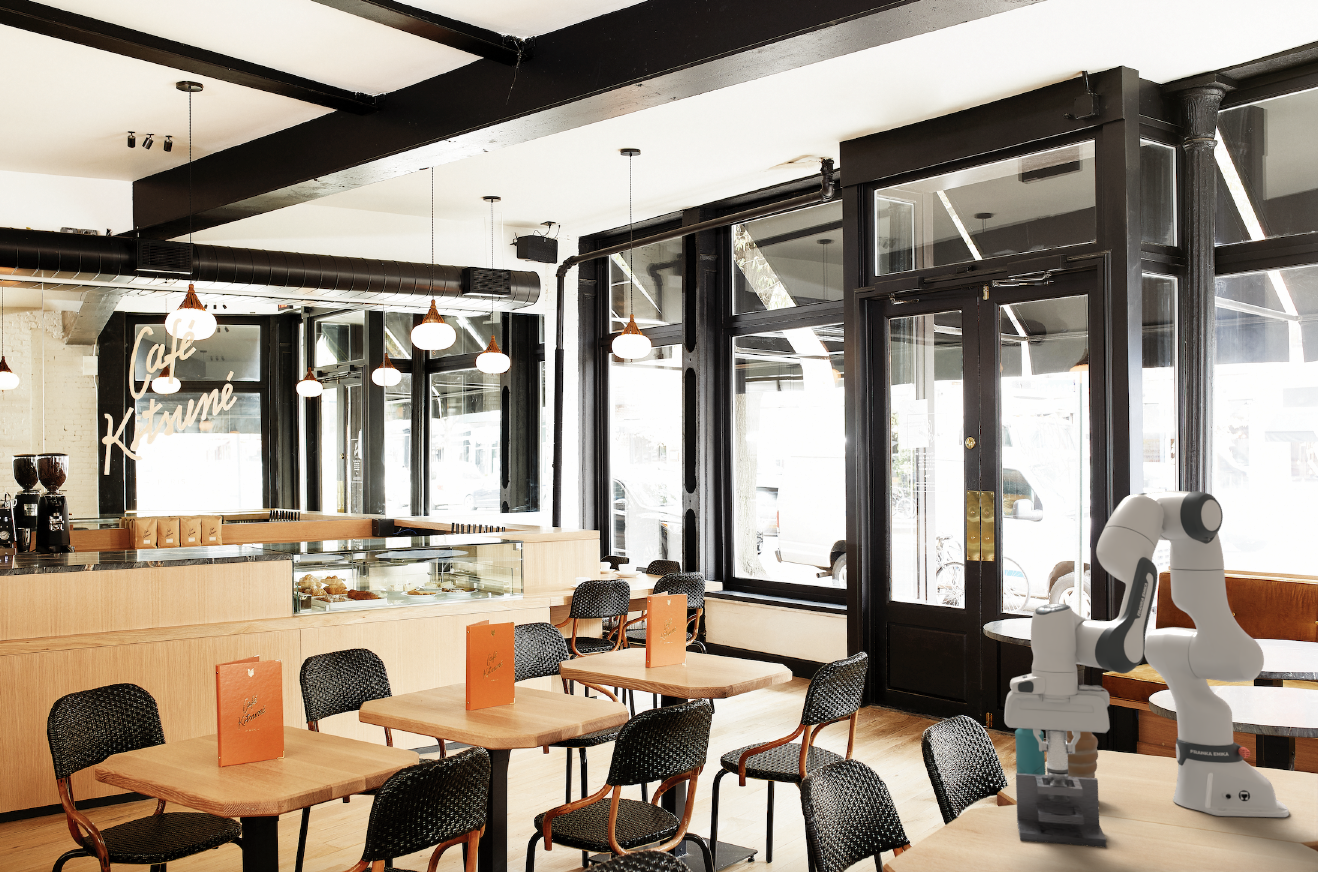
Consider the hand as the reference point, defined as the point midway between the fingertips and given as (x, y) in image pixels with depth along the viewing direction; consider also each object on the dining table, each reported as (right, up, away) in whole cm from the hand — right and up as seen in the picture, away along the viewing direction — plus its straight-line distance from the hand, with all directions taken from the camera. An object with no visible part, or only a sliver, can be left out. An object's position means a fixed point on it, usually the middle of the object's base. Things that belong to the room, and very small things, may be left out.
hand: (1056, 751), depth 209 cm
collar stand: (0, -17, -1) cm, 17 cm away
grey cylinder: (0, -10, -1) cm, 10 cm away
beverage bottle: (+3, -19, +23) cm, 30 cm away
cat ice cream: (+16, -19, +26) cm, 36 cm away
